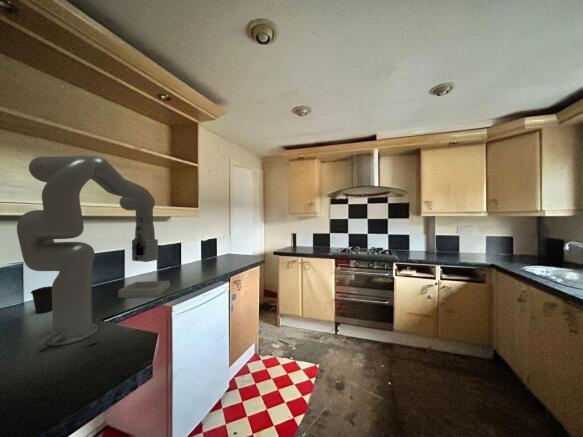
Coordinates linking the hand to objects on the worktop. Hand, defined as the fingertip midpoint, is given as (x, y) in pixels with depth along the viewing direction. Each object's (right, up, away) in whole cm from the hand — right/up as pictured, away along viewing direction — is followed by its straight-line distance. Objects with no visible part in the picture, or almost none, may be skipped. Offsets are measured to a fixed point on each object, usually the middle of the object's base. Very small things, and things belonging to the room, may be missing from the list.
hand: (145, 253), depth 118 cm
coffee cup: (-29, -21, -21) cm, 42 cm away
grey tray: (0, -21, 0) cm, 21 cm away
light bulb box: (0, -4, 0) cm, 4 cm away
